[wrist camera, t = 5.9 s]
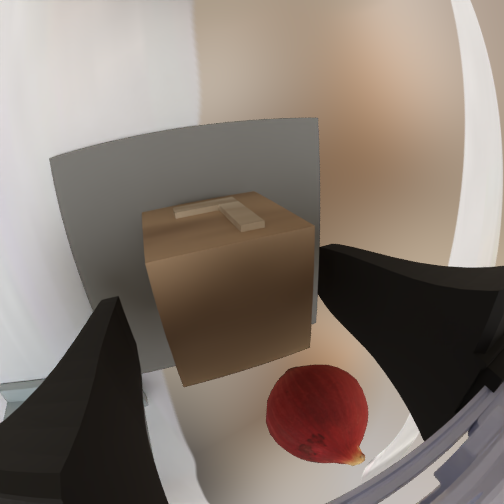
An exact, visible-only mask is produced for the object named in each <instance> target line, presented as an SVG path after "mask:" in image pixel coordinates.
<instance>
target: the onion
mask: <svg viewBox="0 0 504 504" xmlns="http://www.w3.org/2000/svg"><path fill="white" fill-rule="evenodd" d="M266 414H267V415H266V424H267V427H268V429H269V432H270V435H271V436H272V437H273V438H274V440H275V441H276V442H277V443H278V445H280V446H281V447H282V448H284V449H285V450H286V451H288V452H289V453H291V454H292V455H294V456H296V457H298V458H300V459H303V460H306V461H310V462H317V463H339V464H349V465H352V466H354V465H357V464H360V463H362V462H363V461H364V460H365V455H364V454H363V453H362V452H361V450H360V448H359V446H360V443H361V441H362V439H363V436H364V433H365V430H366V426H367V422H368V406H367V402H366V398H365V396H364V393H363V390H362V388H361V387H360V385H359V383H358V381H357V380H356V379H355V378H354V377H353V376H351V375H350V374H349V373H348V372H346V371H344V370H342V369H340V368H337V367H333V366H330V365H308V366H300V367H294V368H290V369H288V370H287V371H286V372H285V374H284V375H283V376H281V377H280V378H279V380H278V381H277V382H276V384H275V386H274V388H273V389H272V391H271V393H270V395H269V398H268V400H267V413H266Z"/></svg>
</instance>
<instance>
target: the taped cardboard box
mask: <svg viewBox="0 0 504 504" xmlns="http://www.w3.org/2000/svg"><path fill="white" fill-rule="evenodd" d="M142 228H143V243H144V256H145V265H146V269H147V273H148V276H149V280H150V284H151V288H152V291H153V295H154V298H155V302H156V305H157V309H158V312H159V315H160V319H161V322H162V325H163V329H164V332H165V335H166V338H167V341H168V344H169V347H170V350H171V353H172V356H173V359H174V362H175V365H176V367H177V370H178V373H179V376H180V378H181V381H182V384H183V387H187V386H191V385H194V384H198V383H202V382H206V381H209V380H212V379H216V378H220V377H224V376H227V375H230V374H233V373H237V372H240V371H243V370H246V369H250V368H252V367H256V366H259V365H262V364H265V363H268V362H271V361H274V360H277V359H280V358H283V357H285V356H288V355H291V354H294V353H296V352H299V351H302V350H304V349H307V348H309V347H310V338H311V337H310V336H311V322H312V304H313V282H314V248H315V226H314V225H312V224H311V223H309V222H307V221H306V220H304V219H302V218H301V217H299V216H297V215H295V214H294V213H292V212H290V211H289V210H287V209H285V208H283V207H282V206H280V205H278V204H276V203H275V202H273V201H271V200H269V199H268V198H266V197H264V196H262V195H260V194H259V193H257V192H255V191H252V192H246V193H240V194H234V195H228V196H223V197H217V198H212V199H206V200H201V201H196V202H190V203H185V204H180V205H175V206H170V207H165V208H161V209H156V210H151V211H147V212H142Z"/></svg>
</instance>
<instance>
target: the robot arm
mask: <svg viewBox="0 0 504 504" xmlns="http://www.w3.org/2000/svg"><path fill="white" fill-rule="evenodd" d="M317 294H318V295H319V296H320V298H321V300H322V301H323V302H324V304H325V305H326V307H327V308H328V309H329V311H330V312H331V313H332V314H333V315H334V316H335V318H336V319H337V320H338V321H339V322H340V323H341V324H342V325H343V326H344V327H345V328H346V329H347V330H348V331H349V332H350V333H351V334H352V335H353V336H354V337H355V338H356V339H357V340H358V341H359V342H360V343H361V344H362V345H363V346H364V347H365V348H366V349H367V350H368V352H369V353H370V354H371V355H372V356H373V357H374V359H375V360H376V361H377V363H378V364H379V365H380V367H381V368H382V369H383V371H384V372H385V373H386V375H387V376H388V378H389V379H390V381H391V382H392V384H393V385H394V386H395V388H396V389H397V391H398V393H399V394H400V396H401V398H402V399H403V401H404V403H405V404H406V406H407V408H408V410H409V411H410V413H411V415H412V417H413V419H414V421H415V423H416V425H417V427H418V429H419V431H420V433H421V436H422V438H423V440H424V441H425V442H423V443H422V444H421V445H420V446H418V447H417V448H416V449H414V450H413V451H412V452H410V453H409V454H408V455H406V456H405V457H403V458H402V459H401V460H399V461H398V462H396V463H395V464H393V465H392V466H390V467H389V468H387V469H386V470H384V471H383V472H381V473H380V474H378V475H377V476H375V477H373V478H372V479H370V480H368V481H367V482H365V483H363V484H362V485H360V486H358V487H357V488H355V489H353V490H351V491H350V492H348V493H346V494H344V495H342V496H340V497H338V498H336V499H334V500H332V501H330V502H328V503H326V504H378V503H379V502H381V501H383V500H384V499H385V498H387V497H389V496H390V495H391V494H393V493H395V492H396V491H397V490H399V489H400V488H402V487H403V486H404V485H406V484H407V483H408V482H410V481H411V480H412V479H414V478H415V477H417V476H418V475H419V474H420V473H422V472H423V471H424V470H425V469H427V468H428V467H429V466H430V465H431V464H433V463H434V462H435V461H436V460H437V459H439V458H440V457H441V456H442V455H443V454H444V453H445V452H446V451H448V450H449V449H450V448H451V447H452V446H453V445H454V444H455V443H456V442H457V441H458V440H459V439H460V438H461V437H462V436H463V435H464V434H465V433H466V432H467V431H468V430H469V431H468V436H469V438H468V439H467V440H466V441H465V442H464V443H463V444H462V445H461V447H460V448H459V449H458V450H457V451H456V452H455V453H454V454H453V455H452V456H451V457H450V458H449V459H448V460H447V461H446V462H445V463H444V464H443V465H442V466H441V467H440V468H439V469H438V470H437V471H435V472H434V476H435V477H436V478H437V479H438V481H439V482H440V485H439V486H438V487H436V488H435V489H434V490H433V491H432V492H430V493H429V494H428V495H427V496H426V497H424V498H423V499H422V500H420V501H419V502H418V503H416V504H504V266H498V267H482V268H463V267H448V266H438V265H431V264H424V263H418V262H413V261H408V260H404V259H399V258H394V257H390V256H386V255H382V254H378V253H374V252H371V251H366V250H363V249H358V248H354V247H350V246H345V245H340V244H330V245H326V246H322V247H319V269H318V292H317ZM0 504H168V501H167V498H166V496H165V493H164V490H163V487H162V485H161V482H160V479H159V475H158V472H157V469H156V466H155V462H154V459H153V455H152V451H151V448H150V444H149V440H148V435H147V430H146V423H145V414H144V403H143V391H142V377H141V366H140V361H139V355H138V349H137V344H136V341H135V339H134V336H133V334H132V331H131V328H130V326H129V323H128V321H127V318H126V315H125V313H124V310H123V307H122V304H121V301H120V298H119V296H116V297H112V298H107V299H103V300H101V301H100V302H99V304H98V305H97V307H96V308H95V310H94V311H93V313H92V315H91V316H90V318H89V319H88V321H87V322H86V324H85V325H84V327H83V328H82V330H81V332H80V333H79V335H78V336H77V338H76V339H75V341H74V342H73V343H72V345H71V346H70V348H69V349H68V350H67V352H66V353H65V355H64V356H63V358H62V359H61V360H60V362H59V363H58V364H57V366H56V367H55V368H54V369H53V371H52V372H51V373H50V374H49V375H48V377H47V378H46V379H45V380H44V381H43V382H42V384H41V385H40V386H39V387H38V388H37V389H36V390H35V391H34V392H33V393H32V394H31V395H30V396H29V397H28V398H27V399H26V400H25V401H24V402H23V404H22V405H20V406H19V407H18V408H17V409H16V410H15V411H14V412H13V413H12V414H11V415H10V416H8V417H7V418H6V419H5V420H4V421H3V422H1V423H0Z"/></svg>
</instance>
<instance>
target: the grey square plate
mask: <svg viewBox="0 0 504 504" xmlns="http://www.w3.org/2000/svg"><path fill="white" fill-rule="evenodd" d="M49 160H50V165H51V171H52V176H53V181H54V186H55V191H56V195H57V199H58V204H59V208H60V212H61V216H62V220H63V223H64V227H65V231H66V234H67V238H68V241H69V244H70V248H71V251H72V254H73V257H74V260H75V263H76V266H77V269H78V272H79V275H80V278H81V281H82V283H83V286H84V289H85V291H86V294H87V297H88V299H89V302H90V304H91V307H92V309H93V311H94V310H95V308H96V307H97V305H98V304H99V302H100V301H101V300H103V299H107V298H112V297H116V296H119V298H120V301H121V304H122V307H123V310H124V313H125V315H126V318H127V321H128V323H129V326H130V328H131V331H132V334H133V336H134V339H135V341H136V344H137V349H138V355H139V361H140V366H141V374H143V373H147V372H152V371H156V370H160V369H165V368H169V367H173V366H176V365H175V362H174V359H173V356H172V353H171V350H170V347H169V344H168V341H167V338H166V335H165V332H164V329H163V325H162V322H161V319H160V315H159V312H158V309H157V305H156V302H155V298H154V295H153V291H152V288H151V284H150V280H149V276H148V273H147V269H146V265H145V256H144V243H143V228H142V212H147V211H151V210H156V209H161V208H165V207H170V206H175V205H180V204H185V203H190V202H196V201H201V200H206V199H212V198H217V197H223V196H228V195H234V194H240V193H246V192H252V191H255V192H257V193H259V194H260V195H262V196H264V197H266V198H268V199H269V200H271V201H273V202H275V203H276V204H278V205H280V206H282V207H283V208H285V209H287V210H289V211H290V212H292V213H294V214H295V215H297V216H299V217H301V218H302V219H304V220H306V221H307V222H309V223H311V224H312V225H314V226H315V248H314V282H313V304H312V322H311V324H314V323H316V314H317V297H318V294H317V292H318V269H319V245H320V243H319V242H320V164H319V163H320V160H319V130H318V118H283V119H282V118H280V119H261V120H247V121H235V122H225V123H216V124H207V125H199V126H192V127H185V128H178V129H172V130H166V131H160V132H154V133H149V134H143V135H138V136H133V137H129V138H124V139H119V140H115V141H111V142H106V143H102V144H98V145H94V146H90V147H87V148H83V149H79V150H76V151H72V152H69V153H65V154H62V155H59V156H55V157H52V158H49Z"/></svg>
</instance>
